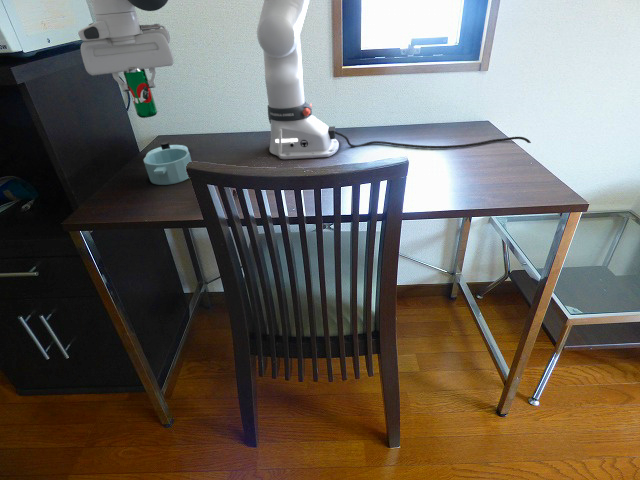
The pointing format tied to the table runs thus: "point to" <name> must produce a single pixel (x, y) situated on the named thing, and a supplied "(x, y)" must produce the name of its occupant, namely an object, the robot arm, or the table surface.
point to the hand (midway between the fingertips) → (139, 89)
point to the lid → (166, 147)
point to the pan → (167, 166)
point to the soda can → (140, 92)
